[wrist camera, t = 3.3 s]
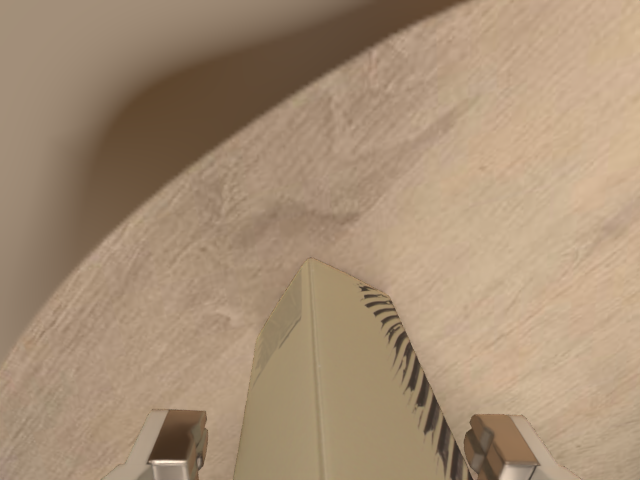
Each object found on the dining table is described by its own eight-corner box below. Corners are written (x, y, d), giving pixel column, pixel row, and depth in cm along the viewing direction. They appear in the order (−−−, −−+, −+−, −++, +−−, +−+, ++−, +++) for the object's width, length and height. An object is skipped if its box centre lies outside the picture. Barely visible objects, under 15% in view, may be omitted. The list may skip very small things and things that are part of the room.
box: (333, 370, 17) (408, 981, 5) (252, 336, 16) (128, 1011, 4) (395, 288, 16) (698, 924, 4) (309, 245, 14) (355, 946, 3)
